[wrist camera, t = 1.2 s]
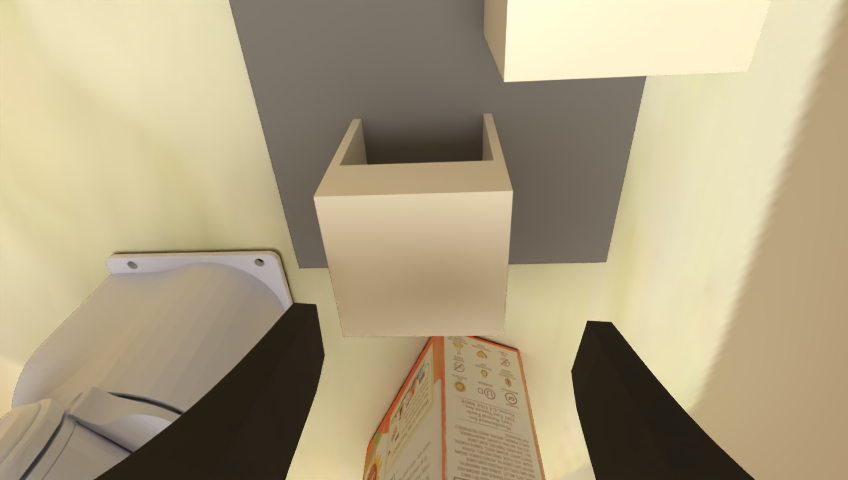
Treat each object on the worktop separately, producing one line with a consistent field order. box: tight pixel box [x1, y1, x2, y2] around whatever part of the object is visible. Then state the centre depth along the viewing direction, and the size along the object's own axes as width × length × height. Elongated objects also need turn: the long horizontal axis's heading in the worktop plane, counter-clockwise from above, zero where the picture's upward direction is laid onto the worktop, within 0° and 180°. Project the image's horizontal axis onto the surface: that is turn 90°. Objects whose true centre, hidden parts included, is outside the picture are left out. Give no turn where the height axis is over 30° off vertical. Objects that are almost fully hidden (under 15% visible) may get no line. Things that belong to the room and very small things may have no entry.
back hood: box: [314, 114, 513, 337], centre depth 18 cm, size 6×6×7 cm
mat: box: [229, 0, 646, 268], centre depth 18 cm, size 16×20×1 cm
